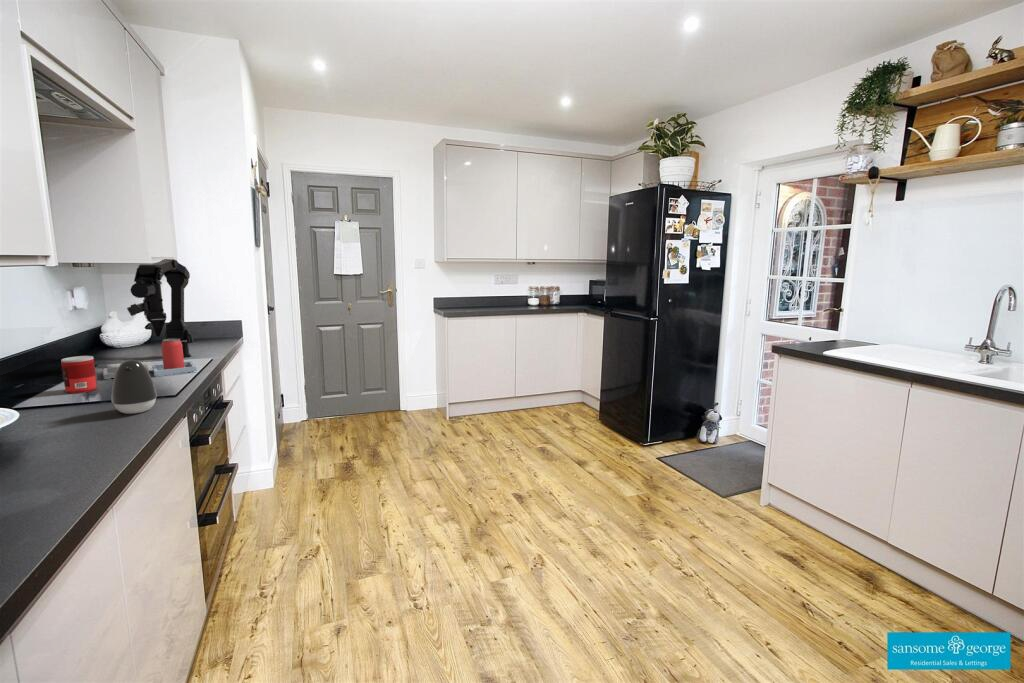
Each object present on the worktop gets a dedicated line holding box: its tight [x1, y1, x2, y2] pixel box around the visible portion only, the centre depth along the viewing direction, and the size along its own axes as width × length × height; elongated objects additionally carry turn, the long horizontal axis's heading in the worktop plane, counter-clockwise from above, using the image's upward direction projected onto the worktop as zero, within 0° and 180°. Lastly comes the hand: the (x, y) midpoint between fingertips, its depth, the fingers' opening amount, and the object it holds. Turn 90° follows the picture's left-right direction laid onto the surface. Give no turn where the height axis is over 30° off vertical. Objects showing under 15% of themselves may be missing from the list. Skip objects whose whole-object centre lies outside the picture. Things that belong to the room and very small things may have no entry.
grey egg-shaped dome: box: [111, 359, 158, 415], centre depth 136 cm, size 10×10×15 cm
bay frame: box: [102, 363, 150, 380], centre depth 180 cm, size 13×13×2 cm
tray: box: [151, 361, 198, 378], centre depth 185 cm, size 13×13×2 cm
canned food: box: [60, 355, 98, 394], centre depth 157 cm, size 8×8×11 cm
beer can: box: [160, 338, 185, 370], centre depth 185 cm, size 7×7×12 cm
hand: (157, 334), depth 192 cm, fingers open, 9 cm apart
